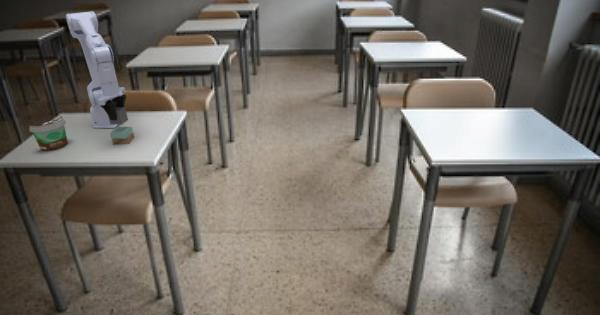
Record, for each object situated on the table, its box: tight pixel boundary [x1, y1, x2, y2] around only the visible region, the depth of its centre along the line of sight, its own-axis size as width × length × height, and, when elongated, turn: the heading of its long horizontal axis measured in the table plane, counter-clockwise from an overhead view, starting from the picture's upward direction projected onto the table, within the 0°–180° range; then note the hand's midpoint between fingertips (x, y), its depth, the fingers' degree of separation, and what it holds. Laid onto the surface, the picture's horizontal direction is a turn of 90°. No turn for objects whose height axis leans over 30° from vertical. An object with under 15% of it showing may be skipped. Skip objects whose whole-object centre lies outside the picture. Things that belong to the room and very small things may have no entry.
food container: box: [29, 115, 69, 152], centre depth 151 cm, size 12×6×10 cm, turn 148°
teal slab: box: [109, 126, 134, 140], centre depth 155 cm, size 6×6×2 cm
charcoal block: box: [108, 106, 129, 126], centre depth 152 cm, size 4×4×5 cm
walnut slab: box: [111, 132, 135, 146], centre depth 156 cm, size 6×6×2 cm
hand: (117, 117), depth 153 cm, fingers closed on charcoal block, 4 cm apart
